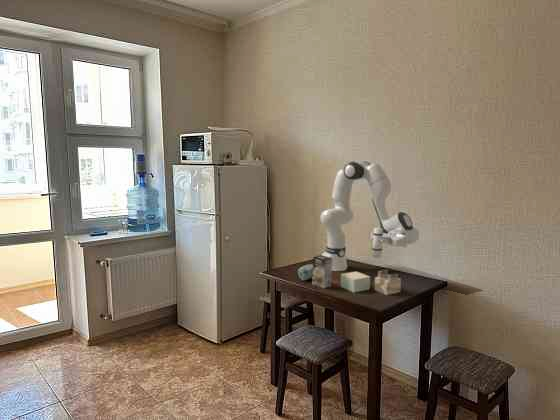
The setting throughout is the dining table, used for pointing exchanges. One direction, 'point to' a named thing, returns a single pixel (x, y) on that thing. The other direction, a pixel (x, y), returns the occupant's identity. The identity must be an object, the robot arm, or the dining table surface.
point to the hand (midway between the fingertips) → (376, 240)
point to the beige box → (355, 281)
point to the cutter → (336, 283)
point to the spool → (306, 272)
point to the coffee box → (322, 271)
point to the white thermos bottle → (377, 242)
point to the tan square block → (387, 283)
